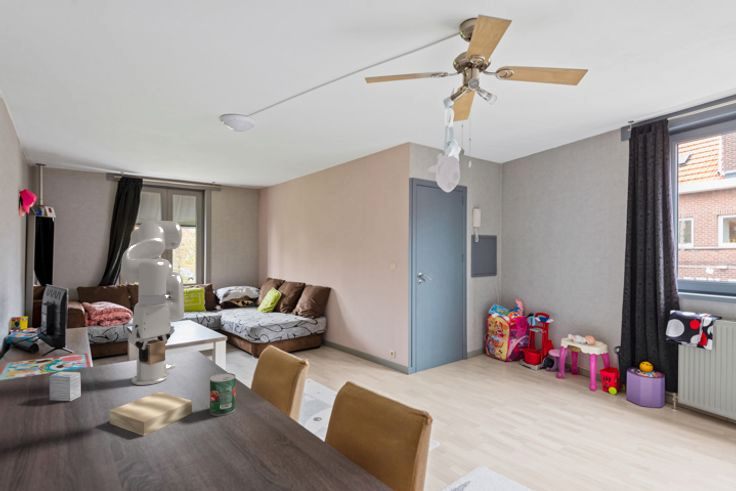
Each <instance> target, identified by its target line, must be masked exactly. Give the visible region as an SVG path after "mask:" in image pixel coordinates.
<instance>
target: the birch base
mask: <svg viewBox="0 0 736 491" xmlns="http://www.w3.org/2000/svg"><path fill="white" fill-rule="evenodd" d="M192 413H193V400H190V399H186V398H183V397H179V396H176V395H172V394H168V393H165V392H162V391H157V392H154V393H153V394H152V393H151V394H150V395H147V396H144V397H142V398H138V399H136V400H134V401H130V402H129V403H126V404H123V405H120V406H118V407H115V408H113V409H111V410H109V425H112V426H115V427H118V428H120V429H123V430H126V431H128V432H129V431H130V432H133V433H134V434H137V435H140V436H143V437H145V436H148V435H150V434H151V433H154V432H156V431H158V430H161V429H162V428H164V427H166V426H168V425H170V424H172V423H174V422H176V421H179V420H181V419H183V418H186V417H187V416H189V415H192Z"/></svg>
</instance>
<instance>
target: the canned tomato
mask: <svg viewBox="0 0 736 491" xmlns="http://www.w3.org/2000/svg"><path fill="white" fill-rule="evenodd" d="M236 380H237V379H236V374H235V373H231V372H223V373H217V374H214V375H211V377H209V414H210V415H212V416H215V417H221V416H222V417H223V416H226V415H229V414H232V413H233V412H235V410H236V389H237V388H236V382H237V381H236Z"/></svg>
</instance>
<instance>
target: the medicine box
mask: <svg viewBox="0 0 736 491" xmlns="http://www.w3.org/2000/svg"><path fill="white" fill-rule="evenodd" d="M48 382H49V401H58V402H61V401H62V402H72V401H74V400H77V399H79V398H80V397H81V396H82V395H81V394H82V393H81V392H82V390H81V388H82V387H81V372H74V371H59V372H56V373H54V374H53V373H52V374H51V375H50V376H49V380H48Z"/></svg>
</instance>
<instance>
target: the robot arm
mask: <svg viewBox="0 0 736 491" xmlns="http://www.w3.org/2000/svg"><path fill="white" fill-rule="evenodd" d="M182 230H183V229H182V226H181V225H180V224H179V223H178V222H177V221H173V220H146V221H144V222H142V223H141V224H140V225H139V226H138V228H136V229H134V230H132V231H131V233H130V242H131V245H130V246H129V247H128V248H126V250H125V251H124V252H123V255H122V258H121V264H120V275H121V278H122V279H123V281H125V282H127V283H138V298H137V299H138V300H137V301H138V302H137V303H136V304H135V305H134V308H133V316H132V322H131V325H132V326H131V335H130V336H129V337H128V339H127V342H128V343H130V344H132V345H133V346H135V347H136V375H135V376H134V377H132V378H131V383H132V384H133V385H137V386H147V385H148V386H149V385H154V384H158V383H161V382H164V381H166V380H168V378H169V373H168V372H169V370H173V369H175V368H176V364H175V363H172V364H167V363H166V364H165V361H162V362H159V363H155V364H152V365H148V364H143V363H139V361H142V362H148V349H146V347H147V343H148V341H150V340H154V339H155V340H161V341H165V345H166V344H167V343H168V340H169V339H170V338H171V336H172V335H173V334H174V332H175V328H174V327H173V326H172V325H171V323H176V322H179V321H181V320H182V319H184V316H185V297H184V296H185V294H184V291H185V290H184V289H185V288H184V281H183V277H182V275H181V273H179V272H176V271H173V265H172V263H170V261H169V260H168V259H165V258H161V255H162V254H164V252H165V250H176V249H177V248H179V247H180V244H181V242H182V238H183V231H182ZM170 297H171V298H170Z"/></svg>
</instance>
